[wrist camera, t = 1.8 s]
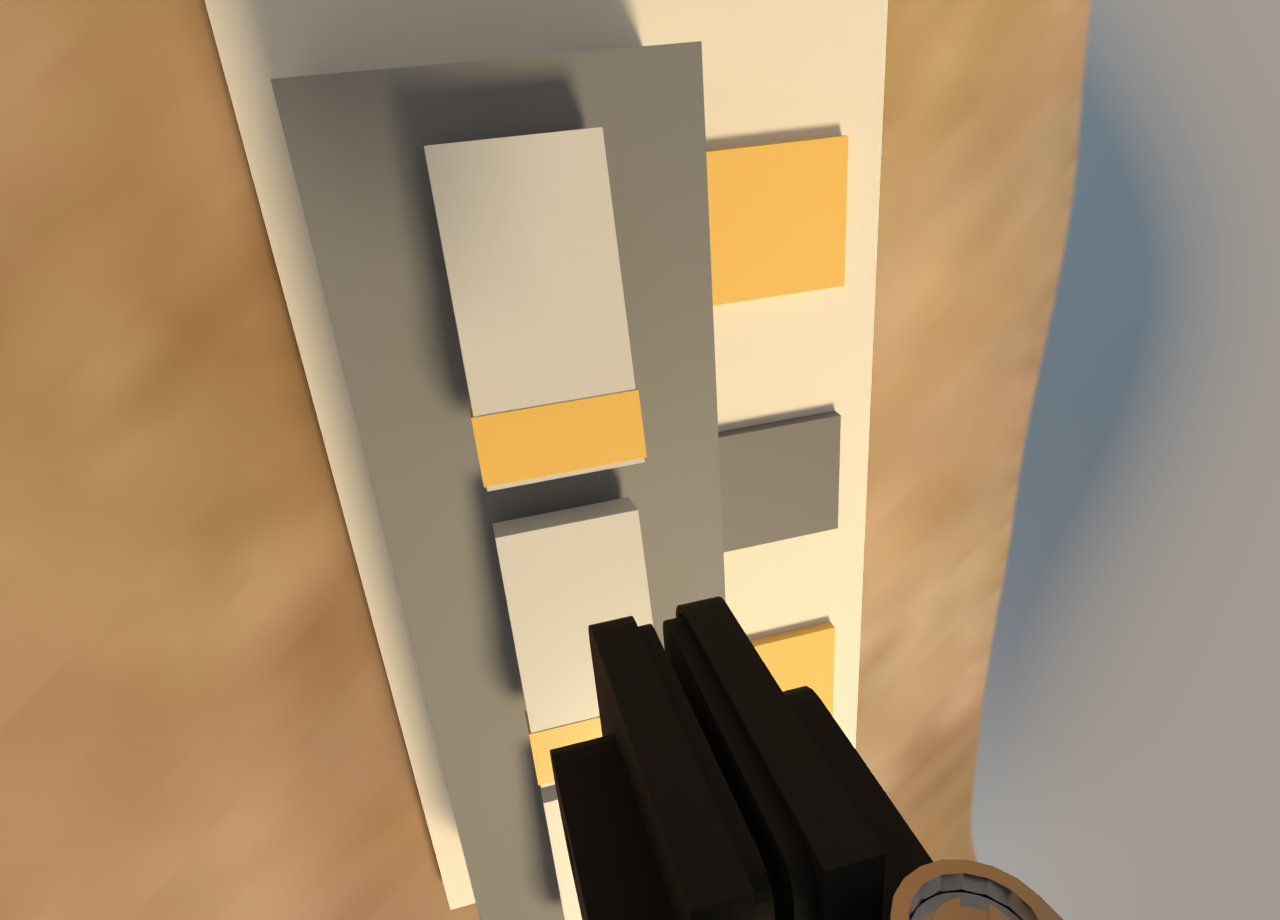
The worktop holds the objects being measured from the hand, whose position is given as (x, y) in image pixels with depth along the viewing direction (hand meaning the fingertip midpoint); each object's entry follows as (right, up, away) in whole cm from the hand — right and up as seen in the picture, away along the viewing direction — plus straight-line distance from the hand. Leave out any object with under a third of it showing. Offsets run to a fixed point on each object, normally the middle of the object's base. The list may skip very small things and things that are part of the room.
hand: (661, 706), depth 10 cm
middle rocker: (-2, -1, +9) cm, 10 cm away
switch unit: (-1, +2, +16) cm, 16 cm away
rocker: (-2, +6, +6) cm, 9 cm away
